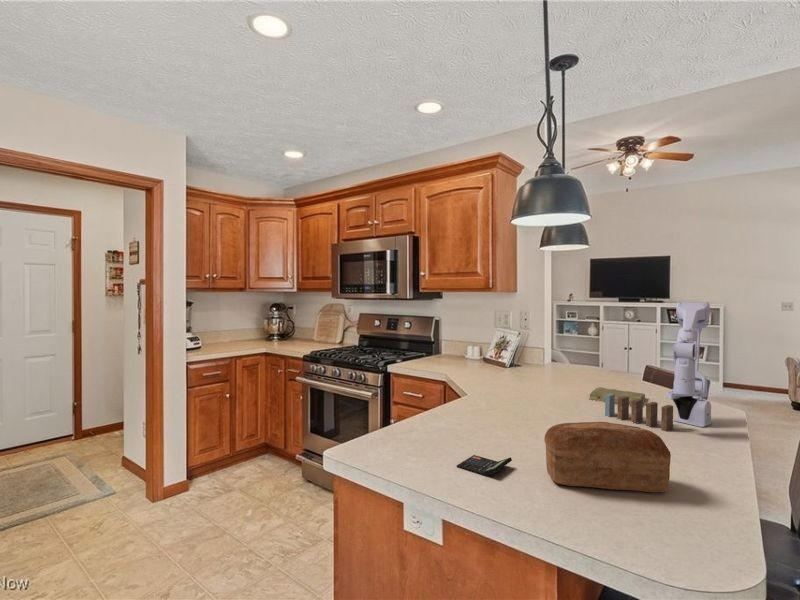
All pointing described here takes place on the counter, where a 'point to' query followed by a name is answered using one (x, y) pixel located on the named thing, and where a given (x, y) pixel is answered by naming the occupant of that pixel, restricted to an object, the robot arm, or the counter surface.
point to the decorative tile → (601, 392)
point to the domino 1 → (609, 404)
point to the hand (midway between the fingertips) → (684, 418)
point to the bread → (607, 456)
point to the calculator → (482, 465)
